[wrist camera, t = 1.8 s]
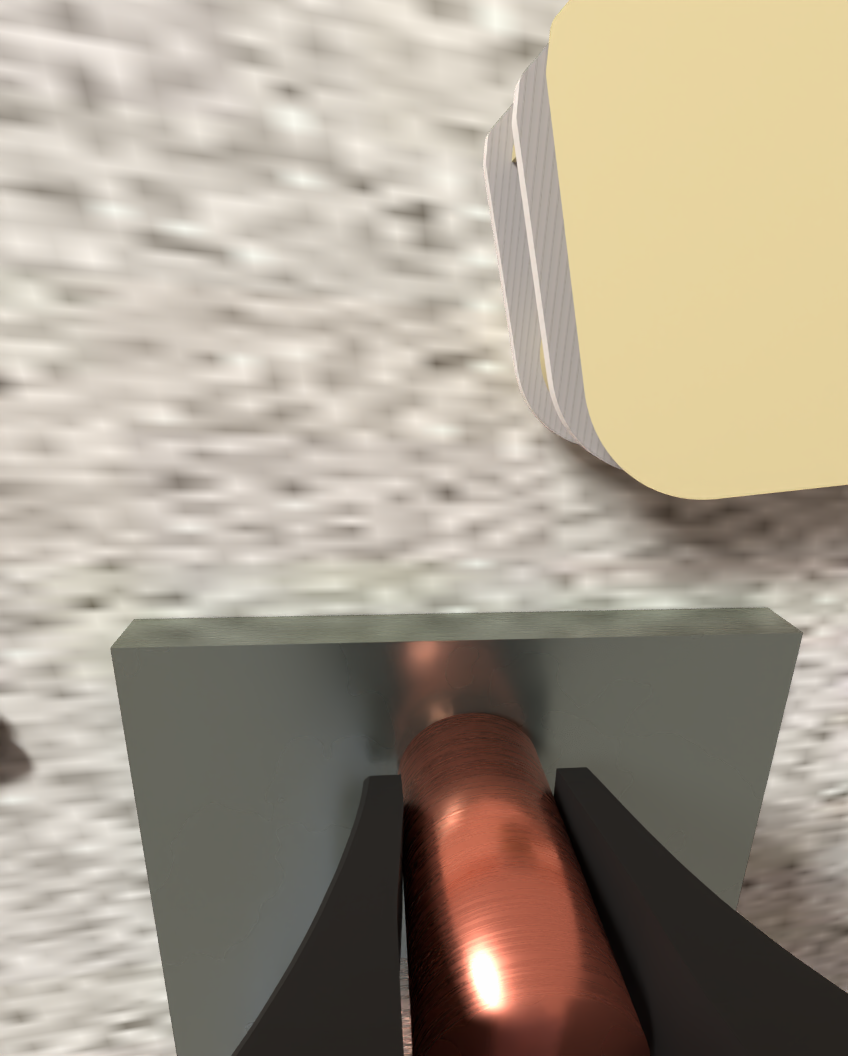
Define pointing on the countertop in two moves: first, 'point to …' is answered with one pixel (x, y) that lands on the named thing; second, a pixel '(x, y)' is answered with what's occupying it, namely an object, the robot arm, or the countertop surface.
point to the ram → (499, 908)
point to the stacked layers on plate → (683, 240)
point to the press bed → (382, 737)
